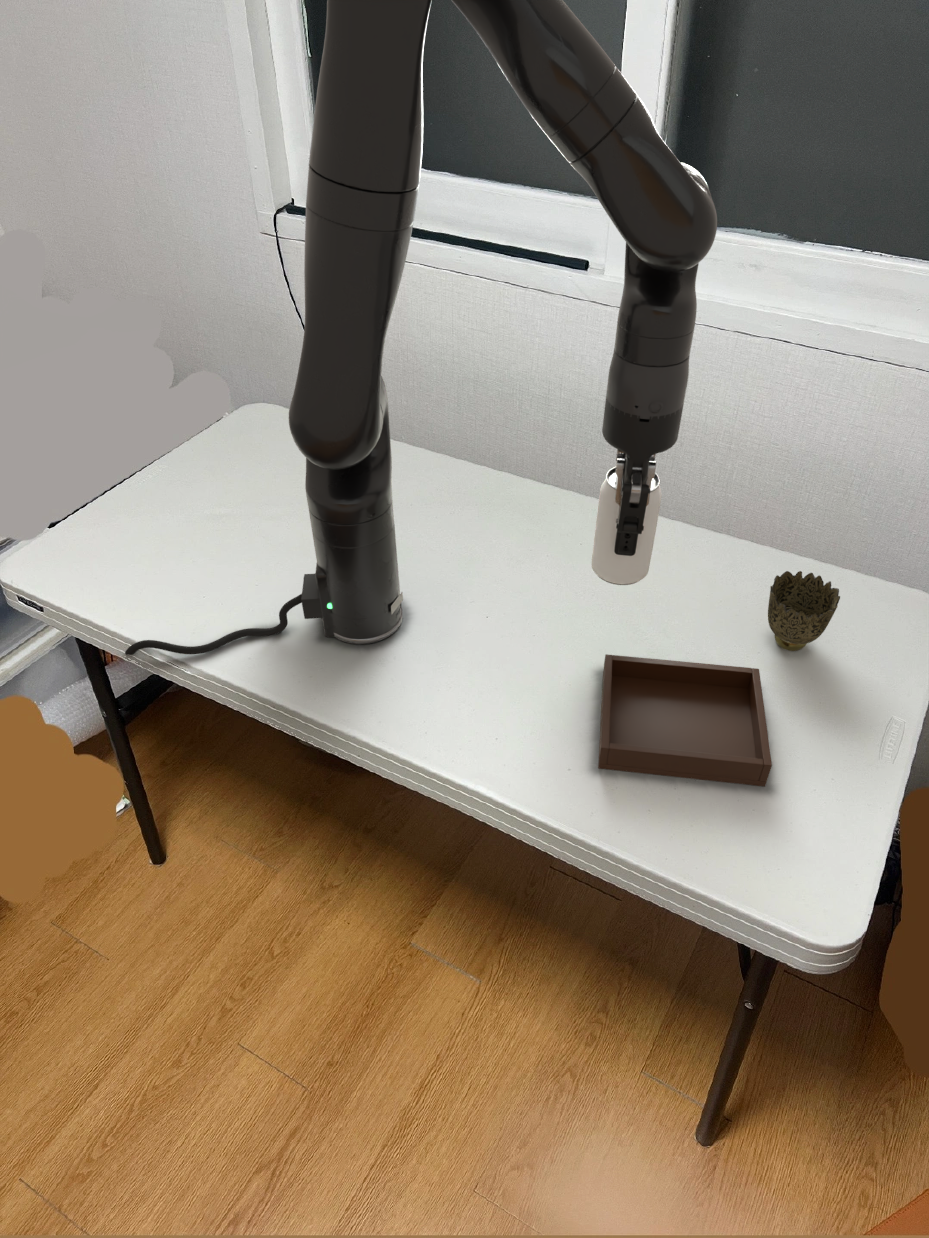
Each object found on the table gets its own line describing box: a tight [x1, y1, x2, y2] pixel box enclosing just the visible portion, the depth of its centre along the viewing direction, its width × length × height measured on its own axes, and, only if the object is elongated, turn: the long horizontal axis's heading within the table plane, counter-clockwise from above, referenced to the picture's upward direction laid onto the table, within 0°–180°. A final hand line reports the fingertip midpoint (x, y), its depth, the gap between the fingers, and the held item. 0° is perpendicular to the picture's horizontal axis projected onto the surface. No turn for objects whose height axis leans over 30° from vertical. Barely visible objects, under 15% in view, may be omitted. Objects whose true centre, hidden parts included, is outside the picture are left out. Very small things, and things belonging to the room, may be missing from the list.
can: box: [590, 466, 663, 586], centre depth 97 cm, size 6×6×12 cm
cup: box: [767, 570, 841, 652], centre depth 102 cm, size 8×7×8 cm
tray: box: [597, 653, 773, 787], centre depth 94 cm, size 17×14×3 cm
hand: (625, 533), depth 98 cm, fingers closed on can, 6 cm apart
